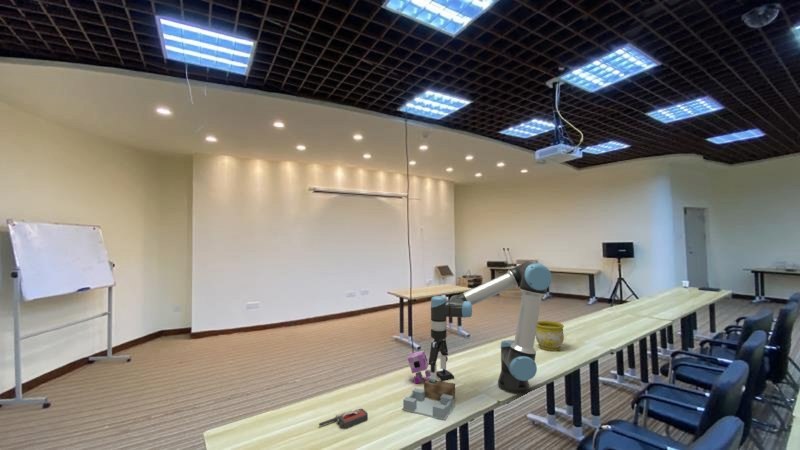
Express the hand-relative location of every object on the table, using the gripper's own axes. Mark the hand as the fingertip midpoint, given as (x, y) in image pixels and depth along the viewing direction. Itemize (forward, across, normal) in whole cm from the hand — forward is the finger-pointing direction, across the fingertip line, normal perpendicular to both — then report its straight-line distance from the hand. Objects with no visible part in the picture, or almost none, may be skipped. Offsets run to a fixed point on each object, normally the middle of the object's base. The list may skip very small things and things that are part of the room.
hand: (438, 373), depth 165 cm
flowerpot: (+10, -100, +44) cm, 110 cm away
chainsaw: (+12, +38, -28) cm, 48 cm away
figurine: (+12, -23, -6) cm, 26 cm away
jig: (+11, +11, 0) cm, 16 cm away
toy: (+12, -14, -16) cm, 24 cm away
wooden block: (+12, 0, 0) cm, 12 cm away
